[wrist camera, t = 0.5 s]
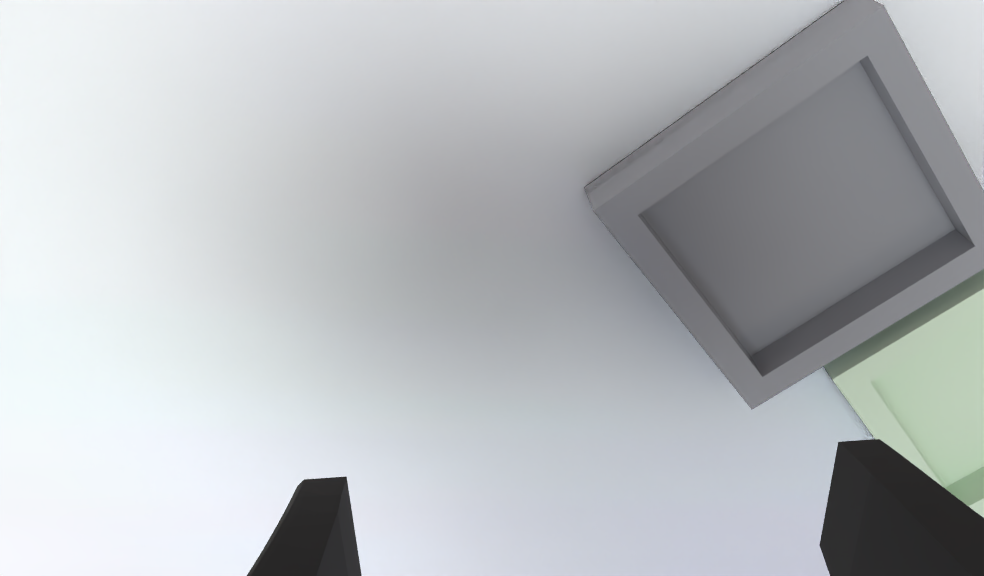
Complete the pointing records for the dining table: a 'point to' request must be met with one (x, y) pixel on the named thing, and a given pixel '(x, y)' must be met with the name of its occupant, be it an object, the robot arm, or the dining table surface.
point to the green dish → (927, 388)
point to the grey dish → (801, 204)
